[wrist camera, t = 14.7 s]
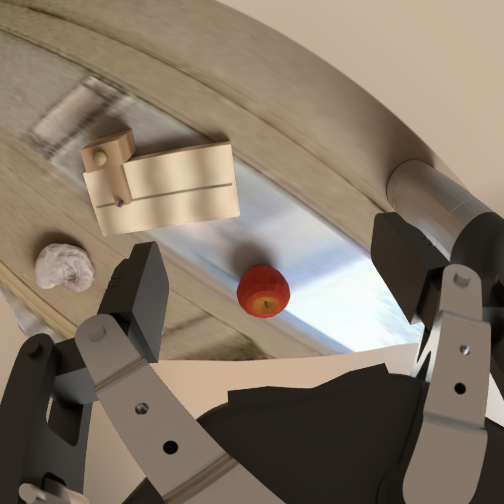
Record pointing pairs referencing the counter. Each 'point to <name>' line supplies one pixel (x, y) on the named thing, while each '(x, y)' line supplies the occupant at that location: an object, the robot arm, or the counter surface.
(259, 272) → the apple
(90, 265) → the fossil
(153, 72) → the counter surface
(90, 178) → the board
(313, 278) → the counter surface
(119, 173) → the block
